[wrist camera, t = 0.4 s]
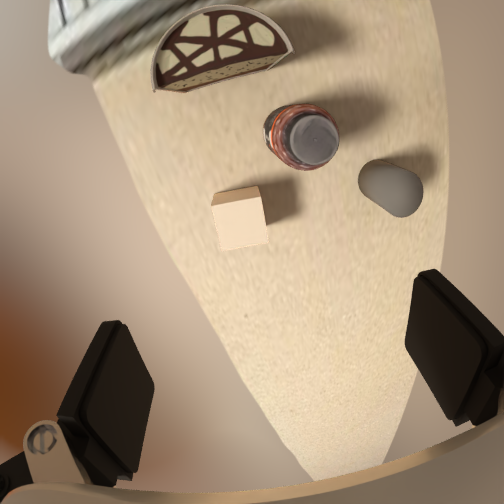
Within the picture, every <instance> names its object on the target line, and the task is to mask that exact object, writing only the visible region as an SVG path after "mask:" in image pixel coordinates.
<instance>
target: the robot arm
mask: <svg viewBox="0 0 504 504" xmlns="http://www.w3.org/2000/svg"><path fill="white" fill-rule="evenodd" d="M405 347H406V350H407V351H408V353H409V355H410V356H411V358H412V360H413V361H414V363H415V364H416V366H417V368H418V369H419V371H420V372H421V374H422V376H423V377H424V379H425V381H426V383H427V384H428V386H429V387H430V389H431V391H432V393H433V394H434V396H435V398H436V400H437V401H438V403H439V405H440V407H441V408H442V410H443V412H444V414H445V415H446V417H447V418H448V419H449V420H453V422H454V424H455V426H459V425H461V424H463V423H465V422H467V421H469V420H470V421H471V423H472V424H473V425H472V429H470V430H468V431H466V432H464V433H462V434H459V435H457V436H455V437H453V438H451V439H448V440H446V441H444V442H441V443H439V444H437V445H434V446H432V447H430V448H427V449H425V450H422V451H419V452H417V453H414V454H412V455H409V456H406V457H403V458H400V459H398V460H394V461H392V462H388V463H385V464H382V465H379V466H375V467H372V468H368V469H365V470H361V471H358V472H354V473H350V474H346V475H342V476H338V477H333V478H329V479H324V480H319V481H314V482H309V483H303V484H297V485H291V486H284V487H277V488H270V489H260V490H249V491H236V492H217V493H173V492H154V491H140V490H128V489H119V488H117V487H116V482H117V479H120V480H128V481H132V477H133V473H136V472H137V470H138V467H139V461H140V456H141V451H142V446H143V441H144V436H145V431H146V426H147V422H148V417H149V412H150V408H151V403H152V398H153V394H154V382H153V381H152V378H151V376H150V374H149V372H148V370H147V368H146V366H145V364H144V362H143V360H142V358H141V355H140V354H139V351H138V349H137V347H136V345H135V343H134V340H133V338H132V336H131V334H130V332H129V329H128V327H127V326H126V325H125V324H122V322H120V321H119V320H115V321H105V322H102V324H101V325H100V327H99V329H98V331H97V332H96V334H95V336H94V338H93V340H92V342H91V344H90V346H89V348H88V350H87V352H86V354H85V356H84V358H83V360H82V362H81V364H80V366H79V368H78V370H77V372H76V374H75V376H74V378H73V380H72V382H71V384H70V386H69V388H68V391H67V393H66V395H65V397H64V399H63V401H62V404H61V406H60V408H59V410H58V413H57V417H58V418H59V419H58V422H57V423H55V422H53V421H50V420H45V421H41V422H38V423H36V424H34V425H33V426H32V427H31V428H30V429H29V430H28V431H27V433H26V435H25V437H24V441H23V447H24V451H23V452H21V453H20V454H18V455H16V456H15V457H13V458H11V459H9V460H8V461H6V462H4V463H3V464H1V465H0V504H504V336H503V335H502V334H501V332H500V331H499V330H498V329H497V328H496V327H495V326H494V325H493V324H492V323H491V322H490V321H489V320H488V319H487V318H486V317H485V316H484V315H483V314H482V313H481V312H480V311H479V310H478V309H477V308H476V307H475V306H474V305H473V304H472V303H471V302H470V301H469V300H468V299H467V298H466V297H465V296H464V295H463V294H462V293H461V292H460V291H459V290H458V289H457V288H456V287H455V286H454V285H453V284H452V283H451V282H450V281H448V280H447V279H446V278H445V277H444V276H443V275H442V274H441V273H440V272H439V271H438V270H436V269H431V270H426V271H422V272H420V273H419V274H418V276H417V277H416V278H415V279H414V283H413V291H412V299H411V306H410V312H409V319H408V325H407V331H406V336H405Z"/></svg>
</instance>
